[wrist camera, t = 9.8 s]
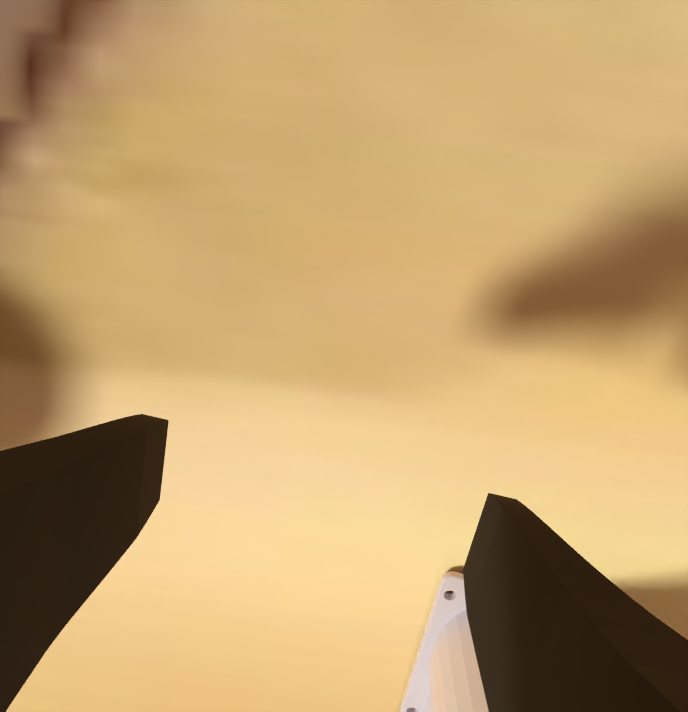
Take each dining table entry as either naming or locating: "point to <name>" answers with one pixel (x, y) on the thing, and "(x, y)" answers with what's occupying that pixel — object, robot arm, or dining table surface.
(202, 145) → the dining table surface
